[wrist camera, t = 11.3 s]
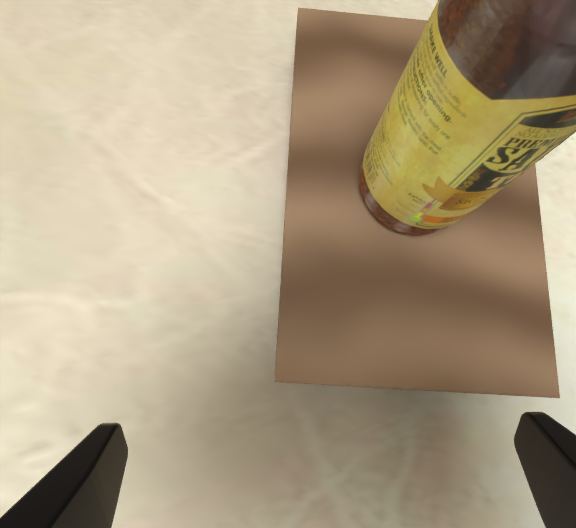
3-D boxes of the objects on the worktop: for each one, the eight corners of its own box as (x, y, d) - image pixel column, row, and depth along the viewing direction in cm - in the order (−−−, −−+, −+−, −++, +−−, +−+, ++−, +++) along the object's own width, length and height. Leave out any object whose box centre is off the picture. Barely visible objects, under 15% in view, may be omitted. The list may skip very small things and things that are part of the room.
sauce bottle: (414, 264, 22) (1574, -554, 3) (330, 182, 23) (721, -882, 3) (492, 187, 23) (1605, -706, 4) (410, 113, 24) (1000, -912, 5)
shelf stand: (522, 394, 23) (559, 398, 20) (273, 380, 23) (275, 381, 20) (494, 64, 29) (520, 30, 26) (294, 45, 28) (298, 7, 25)
